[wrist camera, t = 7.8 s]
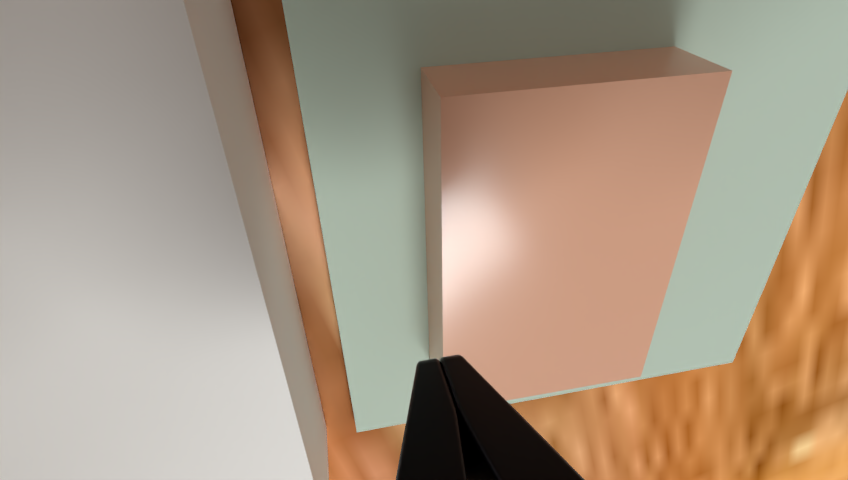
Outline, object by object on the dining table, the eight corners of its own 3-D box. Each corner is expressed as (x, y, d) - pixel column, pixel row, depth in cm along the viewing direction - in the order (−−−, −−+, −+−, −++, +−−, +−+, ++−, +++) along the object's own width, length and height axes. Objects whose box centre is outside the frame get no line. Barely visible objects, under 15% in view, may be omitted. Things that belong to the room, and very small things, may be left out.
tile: (443, 411, 15) (429, 359, 16) (640, 376, 16) (608, 330, 17) (440, 97, 10) (420, 67, 11) (732, 70, 11) (674, 45, 12)
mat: (725, 354, 20) (732, 362, 20) (356, 422, 18) (356, 432, 18) (922, -131, 11) (940, -131, 11) (265, -100, 10) (264, -100, 9)
